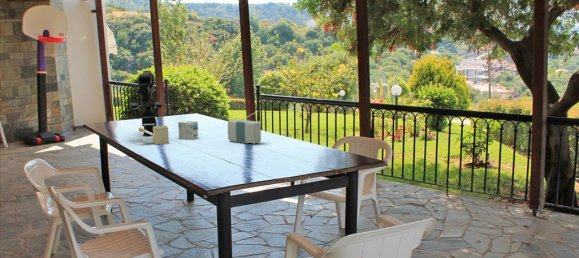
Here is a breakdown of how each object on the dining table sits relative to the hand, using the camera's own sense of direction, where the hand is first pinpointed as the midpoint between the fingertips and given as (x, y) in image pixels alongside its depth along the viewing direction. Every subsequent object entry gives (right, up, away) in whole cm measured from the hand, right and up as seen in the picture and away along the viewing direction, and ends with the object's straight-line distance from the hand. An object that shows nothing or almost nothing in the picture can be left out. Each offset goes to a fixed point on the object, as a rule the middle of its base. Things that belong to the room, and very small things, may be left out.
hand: (146, 119), depth 347 cm
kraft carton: (+11, -15, -9) cm, 20 cm away
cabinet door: (+7, -10, -11) cm, 16 cm away
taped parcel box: (+62, -15, -9) cm, 64 cm away
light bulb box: (+25, -12, +6) cm, 29 cm away
